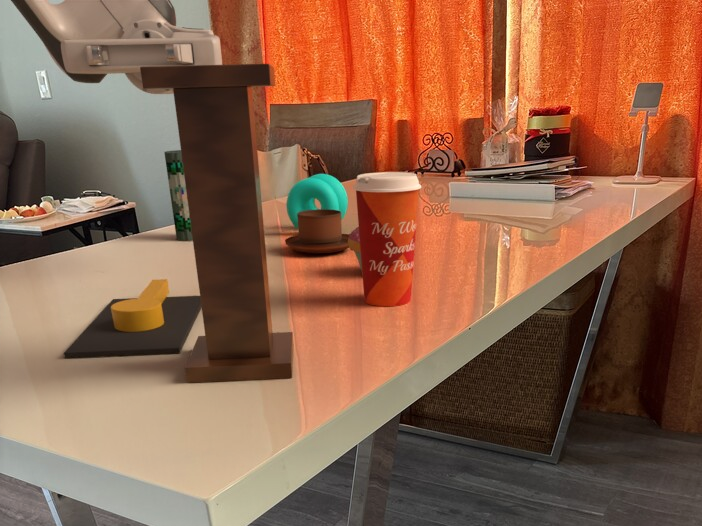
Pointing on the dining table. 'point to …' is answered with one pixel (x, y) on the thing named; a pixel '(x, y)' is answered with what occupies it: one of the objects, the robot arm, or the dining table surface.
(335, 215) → the cup and saucer
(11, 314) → the dining table surface
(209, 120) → the stand
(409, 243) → the coffee cup
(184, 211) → the can
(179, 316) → the mat
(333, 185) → the donuts
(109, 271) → the dining table surface
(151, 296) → the scoop
